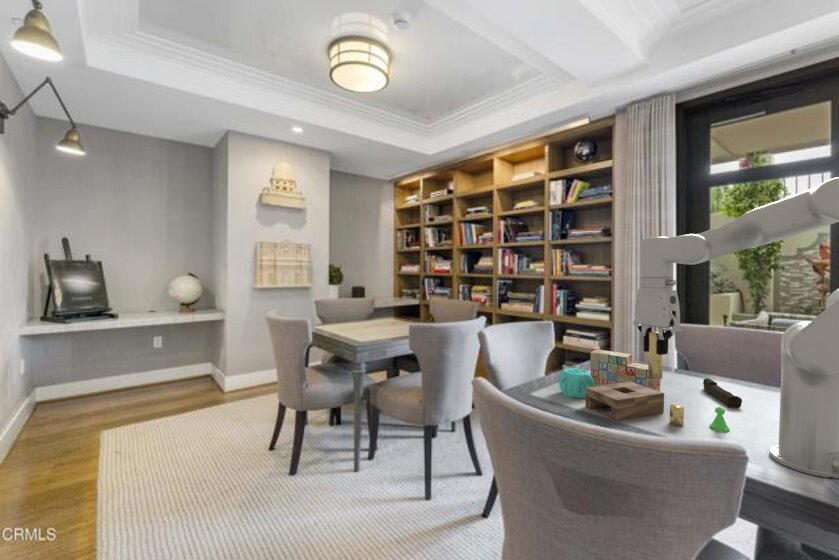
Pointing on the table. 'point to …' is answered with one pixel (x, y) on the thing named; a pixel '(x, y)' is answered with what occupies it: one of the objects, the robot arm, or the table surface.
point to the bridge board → (626, 400)
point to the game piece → (719, 421)
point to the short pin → (676, 415)
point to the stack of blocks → (619, 370)
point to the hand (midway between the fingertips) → (655, 352)
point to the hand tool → (722, 394)
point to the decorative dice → (575, 382)
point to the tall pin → (654, 357)
